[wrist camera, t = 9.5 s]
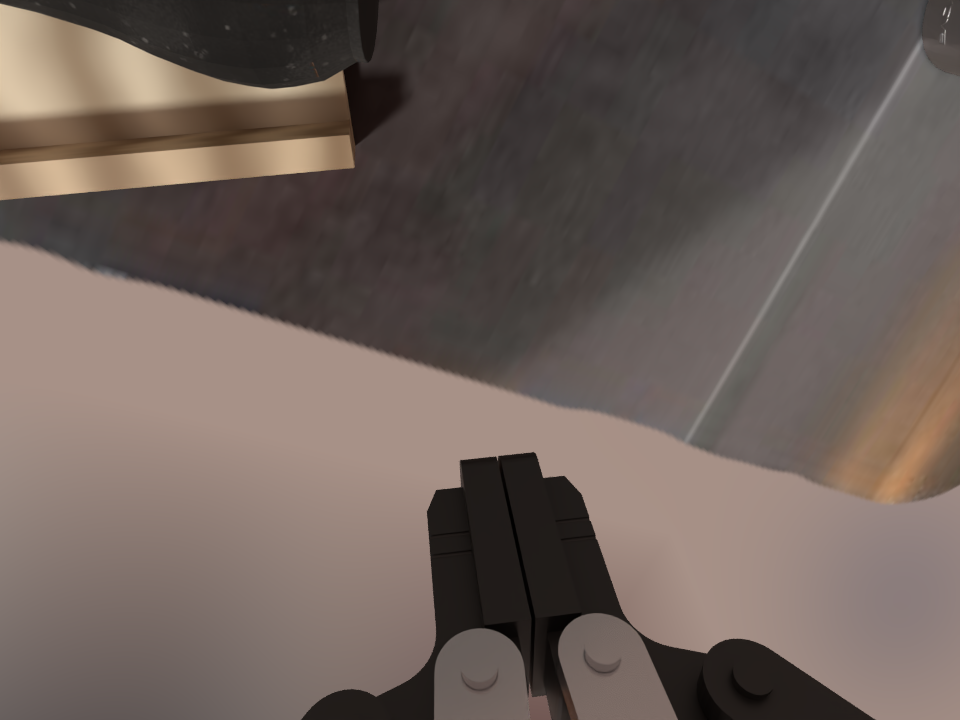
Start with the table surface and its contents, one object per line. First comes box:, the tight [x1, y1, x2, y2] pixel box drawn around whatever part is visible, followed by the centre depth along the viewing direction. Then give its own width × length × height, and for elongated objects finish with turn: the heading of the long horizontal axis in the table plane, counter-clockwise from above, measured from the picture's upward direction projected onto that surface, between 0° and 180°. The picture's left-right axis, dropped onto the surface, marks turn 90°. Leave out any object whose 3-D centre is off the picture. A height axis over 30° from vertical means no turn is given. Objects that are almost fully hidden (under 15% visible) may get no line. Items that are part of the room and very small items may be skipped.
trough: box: [0, 4, 355, 200], centre depth 35 cm, size 28×18×4 cm, turn 92°
